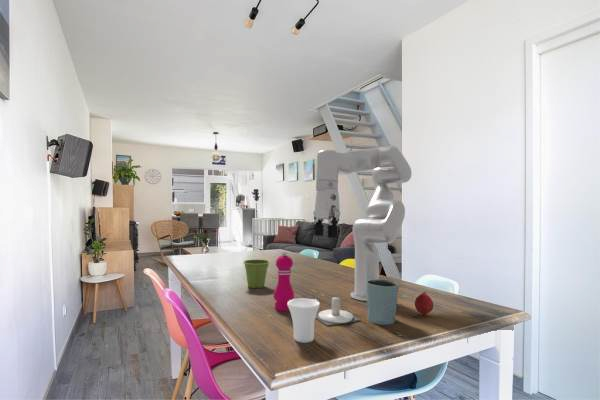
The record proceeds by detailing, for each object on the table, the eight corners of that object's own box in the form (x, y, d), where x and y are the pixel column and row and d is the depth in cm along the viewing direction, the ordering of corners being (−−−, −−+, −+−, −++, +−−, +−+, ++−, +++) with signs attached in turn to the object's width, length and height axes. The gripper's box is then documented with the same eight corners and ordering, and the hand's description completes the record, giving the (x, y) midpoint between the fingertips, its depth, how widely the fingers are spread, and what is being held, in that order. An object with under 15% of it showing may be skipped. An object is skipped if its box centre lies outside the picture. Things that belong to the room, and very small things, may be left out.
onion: (424, 319, 107) (424, 294, 107) (410, 314, 112) (411, 290, 112) (437, 316, 109) (437, 292, 110) (423, 311, 114) (423, 288, 115)
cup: (327, 340, 89) (327, 302, 89) (298, 348, 83) (299, 308, 84) (307, 329, 96) (307, 295, 96) (280, 336, 91) (280, 300, 91)
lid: (340, 310, 114) (341, 292, 114) (359, 320, 104) (360, 301, 104) (312, 314, 109) (312, 295, 109) (329, 325, 99) (329, 304, 99)
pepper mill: (291, 311, 112) (292, 253, 113) (270, 310, 114) (271, 252, 114) (295, 305, 120) (296, 250, 120) (276, 304, 121) (277, 249, 121)
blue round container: (363, 314, 111) (363, 278, 111) (393, 315, 110) (394, 279, 111) (368, 325, 101) (369, 285, 101) (402, 326, 100) (402, 286, 101)
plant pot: (239, 289, 143) (239, 263, 143) (247, 283, 155) (248, 258, 155) (265, 290, 141) (265, 264, 141) (272, 284, 153) (272, 259, 153)
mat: (342, 311, 113) (342, 310, 113) (360, 321, 104) (360, 319, 104) (311, 316, 108) (311, 314, 108) (327, 326, 99) (327, 324, 99)
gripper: (349, 185, 107) (348, 238, 106) (324, 188, 123) (323, 235, 122) (329, 183, 104) (327, 238, 103) (306, 187, 120) (304, 234, 119)
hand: (325, 236), depth 112 cm, fingers open, 9 cm apart
